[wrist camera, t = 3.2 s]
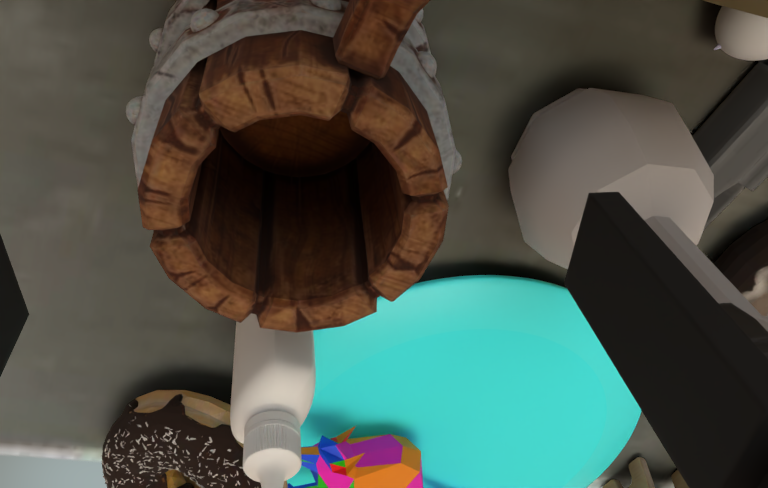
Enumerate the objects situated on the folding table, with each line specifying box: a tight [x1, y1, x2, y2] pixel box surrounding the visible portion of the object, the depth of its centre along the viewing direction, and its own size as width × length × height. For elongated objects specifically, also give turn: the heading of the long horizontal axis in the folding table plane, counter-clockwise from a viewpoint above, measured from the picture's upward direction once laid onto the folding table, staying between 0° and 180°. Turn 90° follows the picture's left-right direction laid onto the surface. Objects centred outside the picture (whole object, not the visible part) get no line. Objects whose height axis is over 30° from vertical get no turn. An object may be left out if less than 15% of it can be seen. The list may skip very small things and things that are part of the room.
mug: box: [126, 0, 462, 333], centre depth 21 cm, size 12×14×15 cm
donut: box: [102, 390, 288, 488], centre depth 37 cm, size 11×12×4 cm
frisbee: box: [287, 275, 642, 488], centre depth 41 cm, size 27×27×2 cm
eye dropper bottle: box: [230, 313, 316, 488], centre depth 30 cm, size 4×6×12 cm
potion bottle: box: [508, 88, 768, 331], centre depth 25 cm, size 9×9×18 cm
